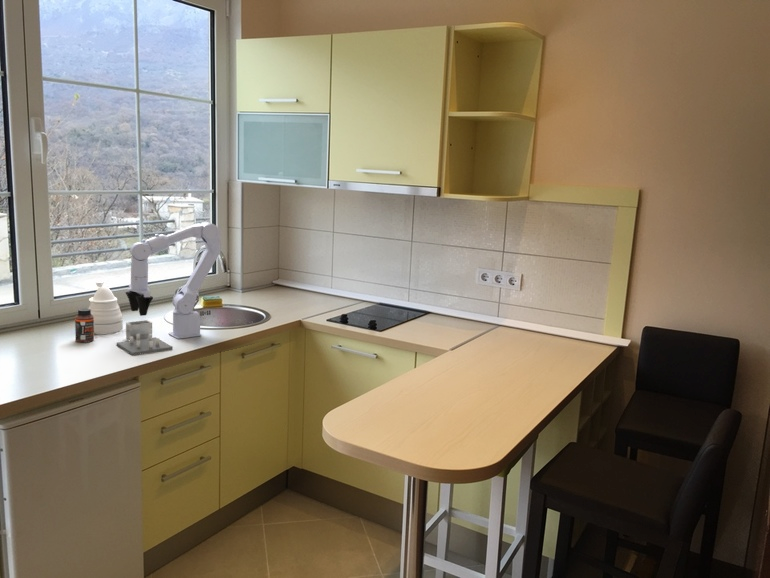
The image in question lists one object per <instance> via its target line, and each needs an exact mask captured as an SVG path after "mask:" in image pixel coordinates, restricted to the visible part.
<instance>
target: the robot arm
mask: <svg viewBox="0 0 770 578" xmlns="http://www.w3.org/2000/svg"><path fill="white" fill-rule="evenodd" d="M189 238H196V239H197V238H198V239H201V240H202V242H203V245H204V247H205V250H204V252H203V254H202V256H201V257H200V259H199V261H198V262H197V264H196V266H195V268H194V269H193V271H192V273H191V275H190V276H189V278H188V279H187V281H186V283H185V285H184V286H182V288H181V289H180V290H179V291H178V292H177V293H176V294H174V295H173V297H172V301H171V302H172V305H173V307H174V308H173V311H172V332H168V334H169V335H170V336H171V337H173V338H175V339H178V340H179V339H187V338H193V337H201V336H202V334H201V316H200V313H199V312H198V311H196V310H195V311H194V308H195V303H196V302H195V301H196V300H197V297H198V296H197V295H198V292H199V290H200V288H201V286H202V285H203V283H204V281H205V280H206V278H207V276H208V274H209V272H210V271H211V270H212V268H213V267H214V264H215V262H216V260H217V259H218V257H219V255H220V253H221V251H222V241H221V239H222V233H221V231H220V229H219V227H218V226H217V225H216V224H215V223H211V222H209V221H206V220H204V221H201V222H200V223H199V222H198V223H194V224H192V225H189V226H187V227H185V228H182V229H179V230H177V231H175V232H172V233H171V234H167V235H165V234H163V233H162V234H159V233H155V234H154V236H153V237H150V238H148V239H147V238H146V239H141V242H140V241H138V242H134V243H133V244H132V245H131V247H130V249H129V253H130V255H131V263H130V284H128V288H126V289H127V291H125V295H126V296H127V299H128V302H129V305H130V310H131V311H132V312H138V311H139V312H138V313H139V316H140V317H141V316H143V317H144V316H147V314H148V310H149V307H150V305H151V303H152V301H153V298H154V296H152V295H151V291H150V289H149V288H148V287H149V281H148V280H149V263H148V262H149V261H148V258H149V257H150V256H153V255H155V254H158V253H161V252H163V251H166V250H168V249H169V248H170V246H171V244H175V243H177V242H181V241H184V240H187V239H189Z"/></svg>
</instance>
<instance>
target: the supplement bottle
mask: <svg viewBox="0 0 770 578" xmlns="http://www.w3.org/2000/svg"><path fill="white" fill-rule="evenodd" d="M77 313H78V314H77V315H75V318H74V322H75V323H74V326H75V327H74V328H75V330H74V332H75V341H76V342H78V343H89V342H92V341H94V340H95V339H94V338H95V333H94V317H93V315H91V309H88V308H84V307H83V308H79V309H77Z"/></svg>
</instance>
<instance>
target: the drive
mask: <svg viewBox="0 0 770 578" xmlns="http://www.w3.org/2000/svg"><path fill="white" fill-rule="evenodd" d="M137 334H140V339H147V338H149V334H152V335H153V322H152V321H150V320H148V319H145V320H137V321H128V322H127V321H126V322H125V336H126V337H125V339H126V340H127V341H130V337H133V340H137Z"/></svg>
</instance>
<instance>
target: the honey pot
mask: <svg viewBox="0 0 770 578" xmlns="http://www.w3.org/2000/svg"><path fill="white" fill-rule="evenodd" d="M95 284H96V287H98V289H97V290H96V291H95V292H94V295H93V296H92V297H90V298H89V299H88V302H89V306H88V308H87V309H91V315H93V317H94V334H98V333H105V334H113V332H114V333H118V332H120V331H122V330H123V328H124V325H123V324H124V322H123V320H124V319H123V314H122V312H121V309H120V308H121V307H120V305H119V304H118V298H117V297H116V296H115V295H114V293H113V291H111V289H110V288H109V287H108V286H106V285H104V281H102V280H100V281H98V280H97V281H96V282H95Z"/></svg>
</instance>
